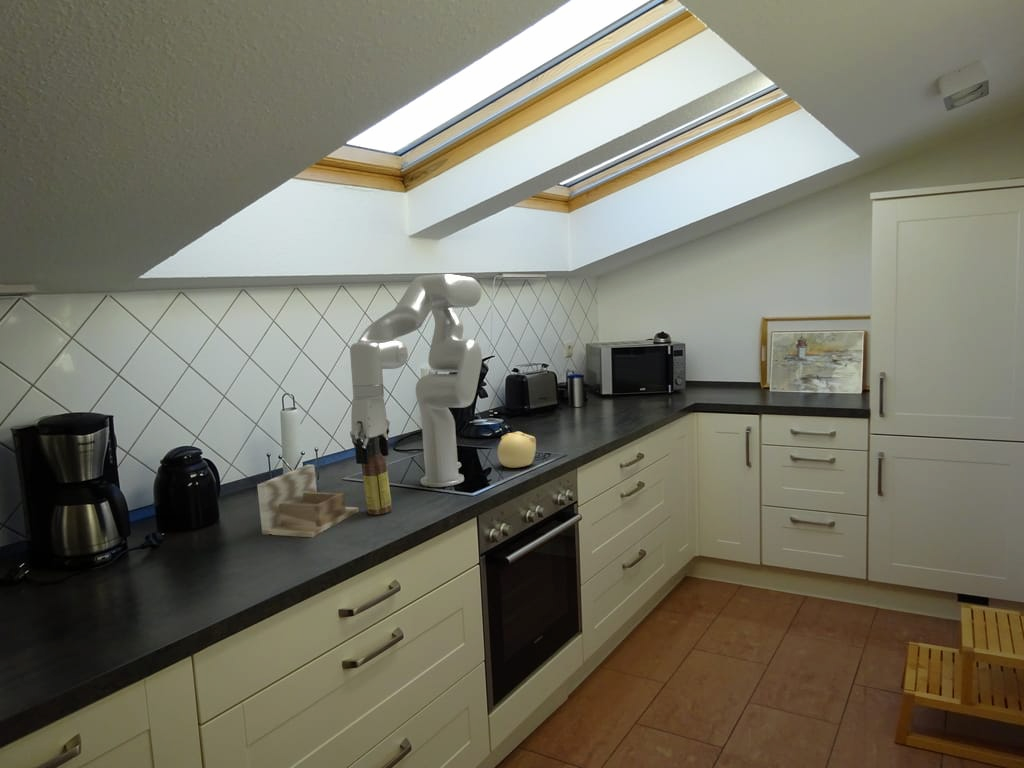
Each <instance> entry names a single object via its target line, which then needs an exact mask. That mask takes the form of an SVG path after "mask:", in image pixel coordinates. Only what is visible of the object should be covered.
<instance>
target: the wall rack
mask: <svg viewBox="0 0 1024 768" xmlns="http://www.w3.org/2000/svg"><path fill="white" fill-rule="evenodd" d="M256 488H257V496H258V498H257V499H258V505H259V507H258V508H259V516H260V524H261V533H262V534H261V535H269V534H272V535H271V536H273V535H274V536H285V537H286V536H289V537H302V538H303V537H304V538H314V537H316V536H317V535H319V534H321V533H322V532H324V530H325V531H326V530H328V529H330V528H332V527H334V526H335V525H337V524H338V523H340V522H342V521H344V520H346V519H347V518H349V517H351V516H353V515H354V514H356V513H358V512H359V507H355V506H346V502H345V492H344V493H343V492H321V491H320V492H319V491H318V490H317V488H318V487H317V478H316V467H315V464H305V465H303V466H301V467H298V468H296V469H293V470H291V471H288V472H286V473H283V474H281V475H278V476H275V477H274V478H271V479H268V480H265V481H263V482H260V483H258V484H257V487H256ZM331 526H332V527H331Z"/></svg>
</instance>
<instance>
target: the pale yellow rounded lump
mask: <svg viewBox="0 0 1024 768" xmlns="http://www.w3.org/2000/svg"><path fill="white" fill-rule="evenodd" d="M500 438H501V439H500V442H499V444H498V445H497V457H498V460H499V463H500V464H501V465H502V466H504V467H505V468H511V469H514V468H516V469H517V468H523V467H526V466H531V464H532V463H533V461H534V458H535V455H536V451H537V440H536V437H535V436H533V435H530V434H527V433H524V432H522V431H518V430H517V431H513V432H508V433H506V434H504V435H502V436H501V437H500Z"/></svg>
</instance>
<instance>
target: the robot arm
mask: <svg viewBox="0 0 1024 768" xmlns="http://www.w3.org/2000/svg"><path fill="white" fill-rule="evenodd" d="M481 297H482V289H481V286H480V284H479V282H478V281H477V280H476V279H475V278H473V277H470V276H464V275H457V274H451V273H440V274H439V273H438V274H427V275H426V274H425V275H421V276H418V277H415V278H414V279H413V281H412V282H411V283H410V285H409V286H408V287H407V289H406V290H405V291H404V294H403V295H402V297H401V298H400V300H399V301H398V303H397V304H396V306H395V307H394V308H393V309H392V310H391V311H389V312H387V313H386V314H384V315H382V316H381V317H380V318H378V319H377V320H375V321H373V322H372V323H371V324H370V325H368V326H367V328H366V329H365V330H364V332H362V334H361V336H360V337H359V338H358V339H357V341H356V342H355V343H353V344H351V345H350V348H349V349H350V350H349V354H350V371H351V381H352V382H351V383H352V401H351V402H352V403H351V420H350V421H351V431H350V432H349V435H350V438H351V442H352V444H353V448H354V449H355V450H354V451H355V461H356V462H355V464H357V465H362V464H368V463H369V457H368V448H366V445H367V442H368V439H371V438H374V437H376V436H379V449H380V452H381V454H382V455H383V457H387V456H389V441H388V440H389V433H390V424H391V422H390V421H389V419H387V410H386V403H385V398H384V397H385V394H384V390H385V389H384V375H383V370H395V369H399V368H401V367H403V366H404V365H405V364H406V362H407V361H408V359H409V351H408V348H407V345H406V344H404V343H403V342H402V341H400V340H396V339H397V338H399V337H403V336H406V335H408V334H410V333H413V332H415V331H417V330H419V329H421V327H422V325H423V324H424V322H425V321H426V319H427V317H428V316H429V313H430V312H431V314H432V315H433V319H434V330H433V335H432V339H431V343H430V346H429V347H430V348H429V353H428V360H427V361H428V365H429V367H430V369H432V370H433V371H435V372H437V373H431V374H430V373H429V374H426V375H424V376H422V377H420V378H419V379H418V380H417V383H416V384H415V395H416V400H417V403H418V408H419V412H420V418H421V421H420V422H421V430H422V431H421V433H422V444H423V457H424V468H425V470H424V471H425V476H423V477H422V478H421V479H420V484H421V485H422V486H423V487H428V486H429V487H430V488H443V487H450V486H456V485H459V484H461V483H463V482H464V481H465V477H464V474H462V473H459V469H460V468H461V467H462V463H461V462H460V461H458V448H457V435H456V433H457V432H456V421H455V418H454V415H453V414H452V411H450V409H449V408H457V409H458V408H462V409H464V408H467V407H469V406H471V405H473V403H474V400H475V397H476V393H477V390H478V385H479V384H478V383H479V379H480V374H481V369H482V363H483V353H482V348H481V346H480V344H479V343H478V342H477V341H476V340H474V339H470V338H463V333H464V324H463V321H462V320H461V318H460V316H459V315H458V313H457V312H456V310H455V309H459V308H473V307H475V306H476V305H478V304H479V302H480V301H481ZM438 372H440V373H438ZM429 487H428V488H429Z"/></svg>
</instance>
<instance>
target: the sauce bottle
mask: <svg viewBox="0 0 1024 768" xmlns="http://www.w3.org/2000/svg"><path fill="white" fill-rule="evenodd" d="M366 448H368V457H369V463H368V464H361V469H362V480H363V483H362V484H363V489H364V497H365V505H366V510H367V513H368V514H369V515H371V516H377V515H378V516H379V515H380V516H381V515H385V514H389V513H390V512H392V511H391V510H392V497H391V490H390V480H389V475H388V473H389V471H388V469H387V462H386V458H385V456H383V455H382V454H381V452H380V449H379V436H376V437H374V438H371V439H368V442H367V445H366Z"/></svg>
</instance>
